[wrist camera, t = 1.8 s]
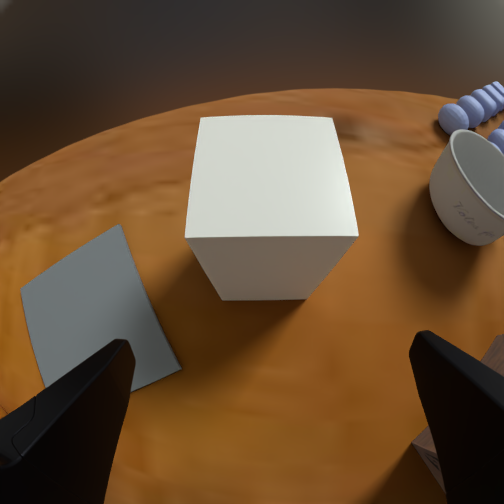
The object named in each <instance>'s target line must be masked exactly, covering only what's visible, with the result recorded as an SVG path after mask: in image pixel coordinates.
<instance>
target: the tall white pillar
mask: <svg viewBox="0 0 504 504" xmlns="http://www.w3.org/2000/svg"><path fill="white" fill-rule="evenodd" d="M358 236H359V235H358V229H357V223H356V218H355V212H354V207H353V202H352V197H351V192H350V187H349V183H348V178H347V174H346V170H345V165H344V161H343V157H342V153H341V149H340V145H339V142H338V138H337V134H336V131H335V127H334V124H333V120H332V118H324V117H309V116H285V115H244V116H220V117H205V118H201V120H200V125H199V131H198V137H197V144H196V150H195V157H194V164H193V171H192V178H191V186H190V194H189V202H188V211H187V220H186V230H185V239H186V241H187V243H188V244H189V246H190V248H191V249H192V251H193V253H194V255H195V256H196V258H197V260H198V261H199V263H200V265H201V266H202V268H203V270H204V271H205V273H206V275H207V276H208V278H209V280H210V281H211V283H212V285H213V286H214V288H215V290H216V291H217V293H218V294H219V296H220V298H221V299H222V300H295V299H307V298H308V297H309V296H310V295H311V294H312V293H313V292H314V290H315V289H316V288H317V287H318V286H319V284H320V283H321V282H322V281H323V280H324V278H325V277H326V276H327V275H328V274H329V272H330V271H331V270H332V269H333V268H334V266H335V265H336V264H337V263H338V261H339V260H340V259H341V258H342V257H343V255H344V254H345V253H346V252H347V250H348V249H349V248H350V246H351V245H352V244H353V243H354V241H355V240H356V239H357V237H358Z"/></svg>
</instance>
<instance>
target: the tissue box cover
mask: <svg viewBox="0 0 504 504" xmlns="http://www.w3.org/2000/svg"><path fill="white" fill-rule="evenodd" d="M481 362H482V363H483V364H485V365H486V366H488V367H490V368H491V369H493V370H494V371H496V372H497V373H499V374H501V375H502V376H504V334H502V335H498V336H496V338H495V340H494V341H493V343H492V345H491V346H490V348H489V349H488V351H487V353H486V354H485V356H484V357H483V359H482V360H481ZM411 443H412V444H413V446H414V447H415V449H416V450H417V452H418V453H419V455H420V456H421V458H422V459H423V461H424V462H425V464H426V465H427V467H428V468H429V470H430V471H431V473H432V474H433V476H434V477H435V479H436V480H437V482H438V483H439V485H440V486H441V488H442V490H443V491H444V493H445V494H446V492H445V488H444V483H443V478H442V474H441V469H440V465H439V461H438V457H437V453H436V449H435V446H434V442H433V439H432V435H431V432H430V428H429V425H428V427H427V428H426V429H425V430H424V431H423V432H422V433H421V434H420V435H419V436H417V437H416V438H415V439H414V440H413V441H412V442H411Z"/></svg>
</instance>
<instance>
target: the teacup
mask: <svg viewBox="0 0 504 504" xmlns="http://www.w3.org/2000/svg"><path fill="white" fill-rule="evenodd" d="M429 189H430V196H431V200H432V203H433V206H434V208H435V210H436V212H437V214H438V216H439V218H440V220H441V221H442V223H443V224H444V225H445V227H446V228H447V229H448V230H449V231H450V232H451V233H452V234H454V235H455V236H456V237H458V238H459V239H461V240H462V241H464V242H466V243H468V244H471V245H477V246H482V245H487V244H489V243H492V242H494V241H495V240H497V239H498V238H500V237H501V236H503V235H504V155H503V153H502V152H501V151H500V150H499V149H498V148H496V147H495V146H494V145H493V144H492V143H491V142H490V141H488V140H487V139H485V138H484V137H482V136H480V135H479V134H477V133H475V132H472V131H469V130H463V129H460V130H456V131H454V132H453V133H452V134H451V136H450V139H449V142H448V144H447V146H446V147H445V149H444V150H443V152H442V154H441V155H440V157H439V159H438V160H437V162H436V164H435V166H434V168H433V170H432V173H431V176H430V183H429Z"/></svg>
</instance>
